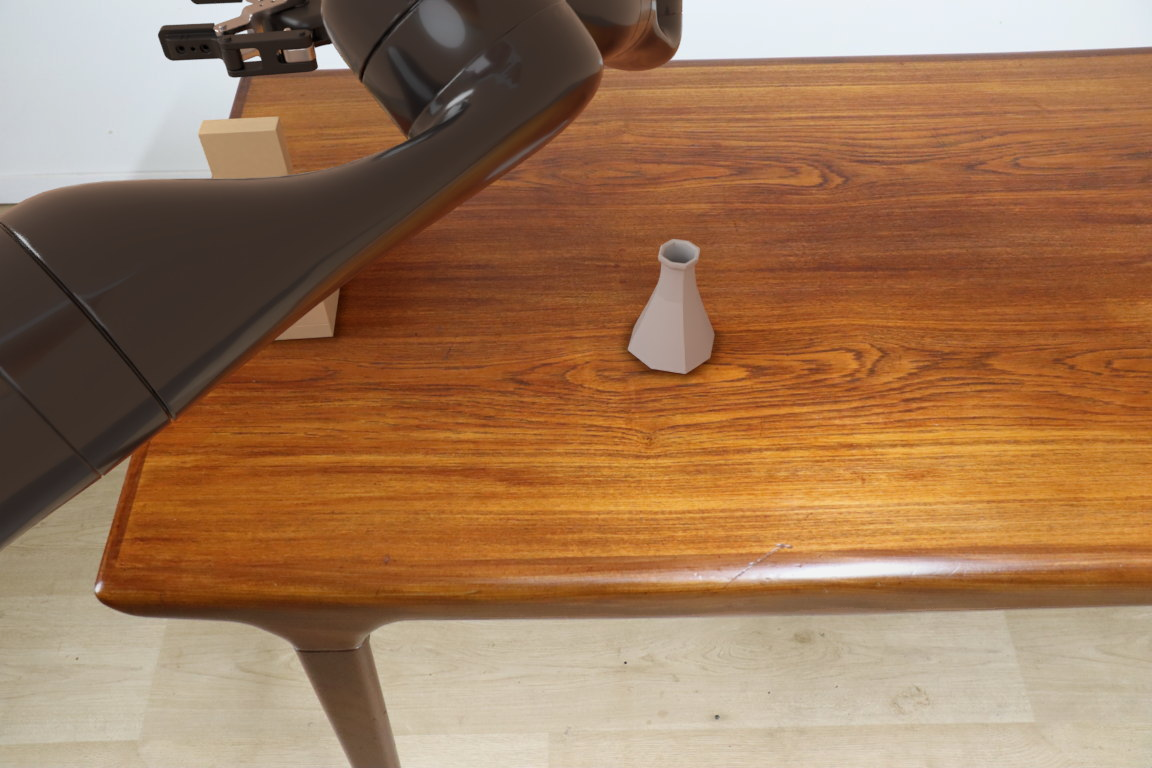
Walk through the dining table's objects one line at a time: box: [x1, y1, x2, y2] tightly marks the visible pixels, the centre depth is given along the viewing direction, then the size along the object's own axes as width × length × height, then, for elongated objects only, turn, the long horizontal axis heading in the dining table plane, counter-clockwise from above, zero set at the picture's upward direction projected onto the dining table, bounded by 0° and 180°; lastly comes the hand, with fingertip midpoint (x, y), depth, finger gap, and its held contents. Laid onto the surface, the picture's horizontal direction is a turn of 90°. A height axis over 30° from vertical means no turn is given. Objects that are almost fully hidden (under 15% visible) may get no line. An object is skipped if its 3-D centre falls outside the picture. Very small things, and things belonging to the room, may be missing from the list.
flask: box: [627, 238, 716, 375], centre depth 76 cm, size 7×7×10 cm
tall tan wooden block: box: [197, 115, 296, 178], centre depth 79 cm, size 6×2×15 cm, turn 94°
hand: (175, 14), depth 67 cm, fingers open, 8 cm apart
